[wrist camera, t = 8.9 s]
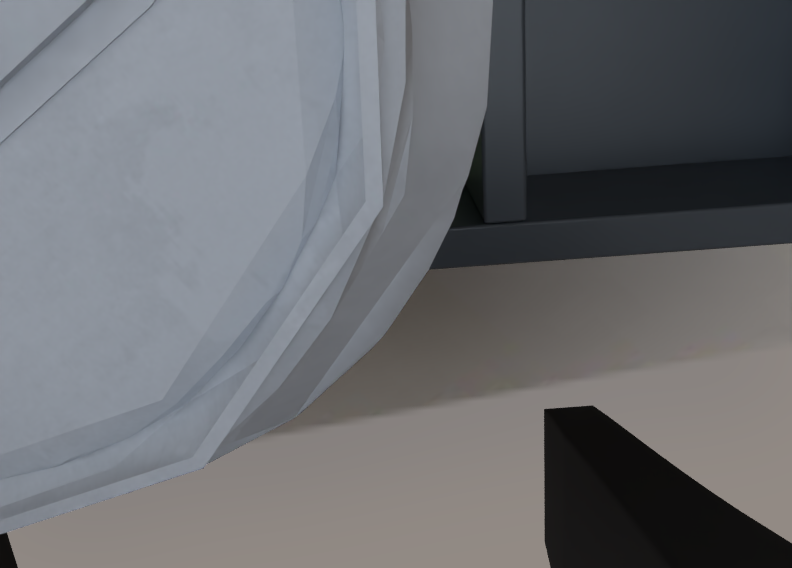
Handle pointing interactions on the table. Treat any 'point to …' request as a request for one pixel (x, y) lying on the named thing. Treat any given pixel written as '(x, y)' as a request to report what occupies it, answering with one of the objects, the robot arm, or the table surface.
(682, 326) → the table surface
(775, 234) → the tray
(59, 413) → the beer can
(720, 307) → the table surface
